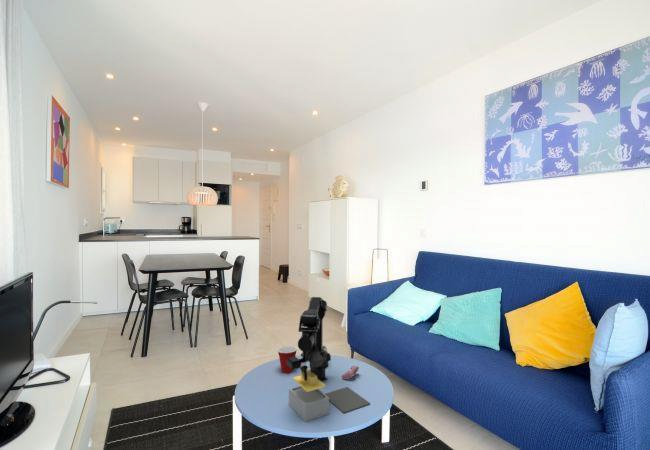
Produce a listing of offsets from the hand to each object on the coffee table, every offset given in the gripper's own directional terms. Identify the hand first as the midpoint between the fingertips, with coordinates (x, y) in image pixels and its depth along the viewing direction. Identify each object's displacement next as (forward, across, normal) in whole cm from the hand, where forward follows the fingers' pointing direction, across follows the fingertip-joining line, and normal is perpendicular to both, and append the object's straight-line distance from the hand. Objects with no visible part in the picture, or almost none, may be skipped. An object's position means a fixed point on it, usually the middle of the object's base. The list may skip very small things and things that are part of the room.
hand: (308, 379), depth 142 cm
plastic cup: (+13, +8, +38) cm, 41 cm away
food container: (+13, +27, +34) cm, 45 cm away
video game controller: (+13, +33, +15) cm, 39 cm away
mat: (+12, +18, -2) cm, 22 cm away
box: (+12, 0, 0) cm, 12 cm away
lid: (+2, 0, 0) cm, 2 cm away
